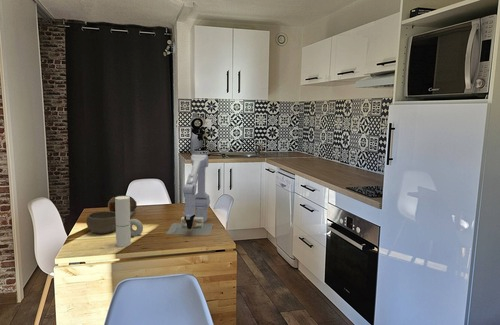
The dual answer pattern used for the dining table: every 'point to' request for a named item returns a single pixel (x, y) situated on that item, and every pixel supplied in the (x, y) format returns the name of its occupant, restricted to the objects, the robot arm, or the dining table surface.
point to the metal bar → (174, 230)
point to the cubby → (201, 229)
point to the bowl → (101, 222)
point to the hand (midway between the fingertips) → (189, 228)
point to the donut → (137, 224)
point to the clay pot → (112, 205)
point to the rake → (191, 229)
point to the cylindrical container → (122, 221)
